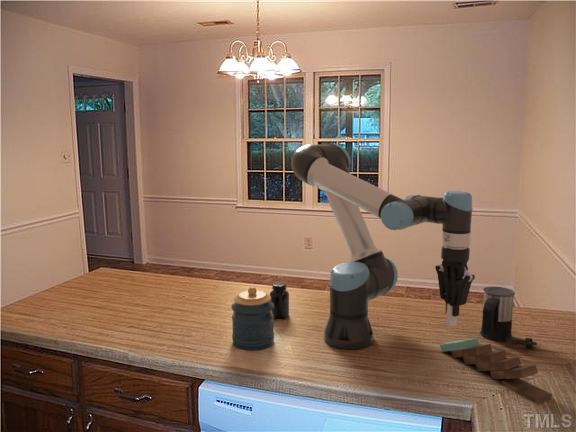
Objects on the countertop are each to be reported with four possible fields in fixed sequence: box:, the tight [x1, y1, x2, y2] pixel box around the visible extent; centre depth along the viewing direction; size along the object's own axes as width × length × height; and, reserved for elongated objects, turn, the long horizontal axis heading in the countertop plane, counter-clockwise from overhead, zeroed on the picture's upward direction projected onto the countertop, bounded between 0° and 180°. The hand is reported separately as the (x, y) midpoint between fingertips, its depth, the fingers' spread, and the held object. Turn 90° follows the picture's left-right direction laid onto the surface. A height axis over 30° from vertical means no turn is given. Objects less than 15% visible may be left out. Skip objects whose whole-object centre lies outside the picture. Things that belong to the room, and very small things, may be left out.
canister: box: [230, 286, 275, 351], centre depth 146 cm, size 13×13×18 cm
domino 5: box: [489, 364, 539, 380], centre depth 121 cm, size 2×5×10 cm
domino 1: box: [439, 337, 480, 353], centre depth 137 cm, size 2×5×10 cm
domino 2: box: [450, 343, 493, 359], centre depth 133 cm, size 2×5×10 cm
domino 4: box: [475, 356, 522, 372], centre depth 125 cm, size 2×5×10 cm
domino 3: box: [462, 349, 508, 366], centre depth 129 cm, size 2×5×10 cm
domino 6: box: [501, 378, 553, 405], centre depth 118 cm, size 2×5×10 cm
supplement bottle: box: [269, 281, 290, 320], centre depth 167 cm, size 7×7×12 cm
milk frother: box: [480, 285, 538, 348], centre depth 146 cm, size 14×16×15 cm
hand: (451, 325), depth 139 cm, fingers closed
